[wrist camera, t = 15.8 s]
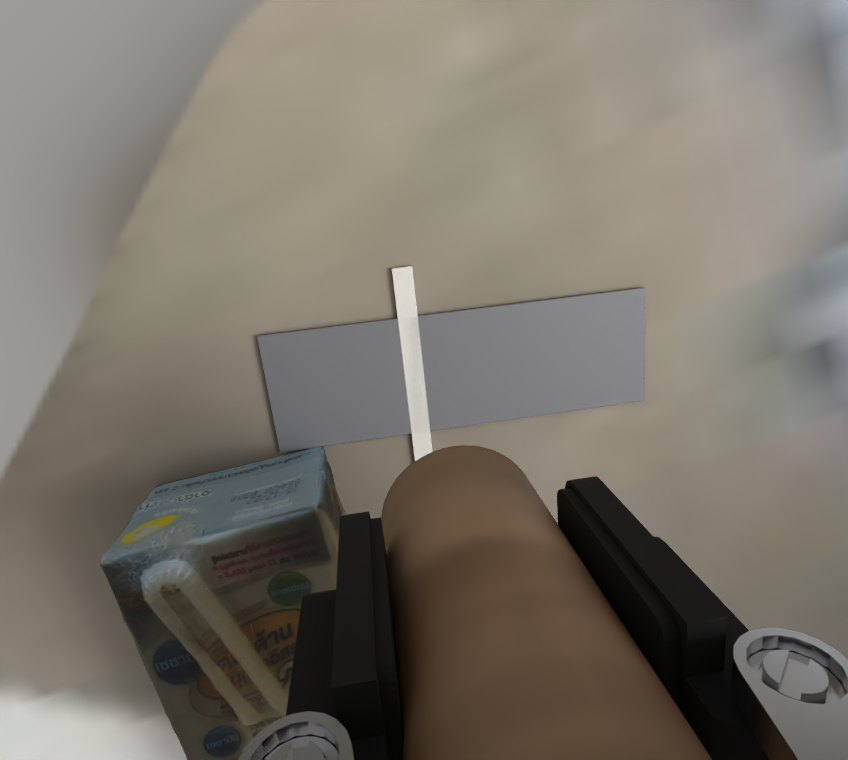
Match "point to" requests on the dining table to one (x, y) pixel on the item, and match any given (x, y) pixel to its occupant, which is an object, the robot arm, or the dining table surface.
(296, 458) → the beverage carton
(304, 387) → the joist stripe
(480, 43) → the dining table surface
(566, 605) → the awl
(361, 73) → the dining table surface
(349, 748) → the robot arm
